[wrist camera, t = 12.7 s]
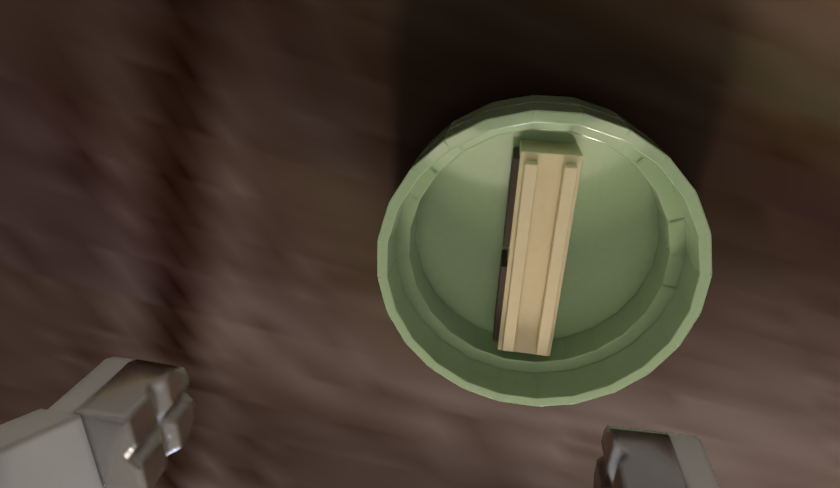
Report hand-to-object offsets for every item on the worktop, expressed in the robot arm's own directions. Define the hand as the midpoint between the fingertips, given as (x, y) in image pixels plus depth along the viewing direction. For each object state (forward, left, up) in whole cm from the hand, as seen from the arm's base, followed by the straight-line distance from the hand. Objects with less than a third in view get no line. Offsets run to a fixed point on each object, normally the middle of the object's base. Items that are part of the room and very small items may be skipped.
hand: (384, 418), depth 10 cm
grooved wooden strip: (+6, +4, -23) cm, 24 cm away
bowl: (+6, +4, -24) cm, 25 cm away
